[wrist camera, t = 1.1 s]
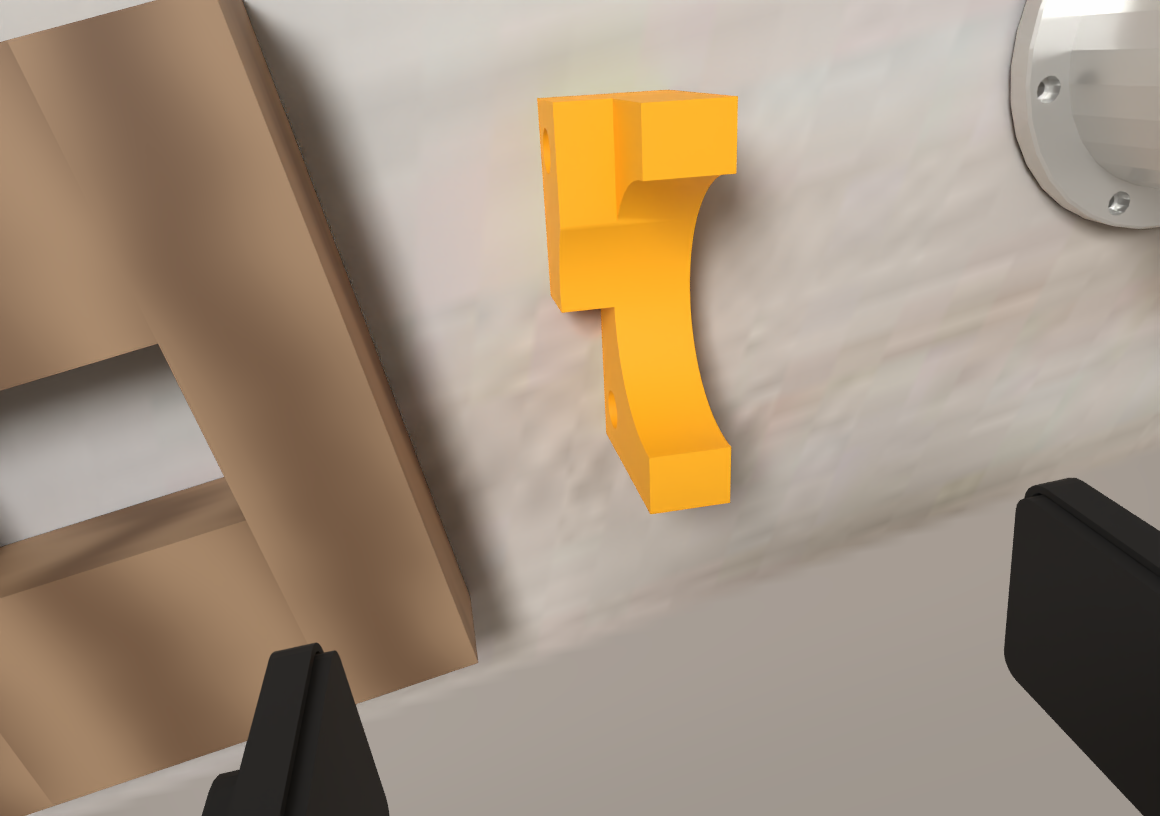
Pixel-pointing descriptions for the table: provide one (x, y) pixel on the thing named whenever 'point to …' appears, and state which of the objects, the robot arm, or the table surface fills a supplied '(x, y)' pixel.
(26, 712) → the cutout shelf
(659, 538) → the table surface
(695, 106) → the orange curved block
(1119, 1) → the robot arm
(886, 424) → the table surface
